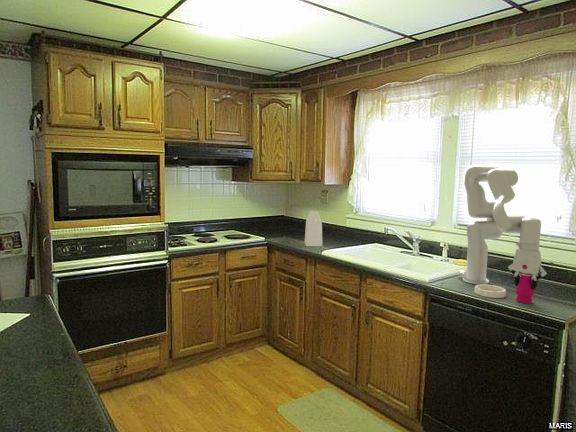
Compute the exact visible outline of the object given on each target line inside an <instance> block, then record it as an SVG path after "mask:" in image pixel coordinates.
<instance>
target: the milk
mask: <svg viewBox="0 0 576 432" xmlns="http://www.w3.org/2000/svg"><path fill="white" fill-rule="evenodd" d="M304 231H305V232H304V243H305V245H306V246H322V247H323V222H322V219H321V215H320V213H319V211H318V210H316V211H315V210H309V212H308V215H307V217H306V220H305V230H304ZM305 245H304V246H305Z"/></svg>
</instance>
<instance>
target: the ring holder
mask: <svg viewBox="0 0 576 432" xmlns="http://www.w3.org/2000/svg"><path fill="white" fill-rule="evenodd" d="M473 291H474V294H476V295H478V296H480V297H485V298H492V299H502V298H503V299H504V298H505V297H506V296H507V295H506V294H507V289H506V288H505V287H502V286H499V285H494V284H475V285H474V289H473Z"/></svg>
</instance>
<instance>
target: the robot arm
mask: <svg viewBox="0 0 576 432" xmlns="http://www.w3.org/2000/svg"><path fill="white" fill-rule="evenodd" d="M518 181H519V175H518V173H517V172H516V171H515V170H514V169H513V168H511V167H510V168H509V167H505V166H502V165H497V164H496V165H495V164H475V165H470V166H468V167H467V168H466V169H465V170H464V173H463V184H464V187H465V191H466V199H467V200H466V201H467V203H466V204H467V211H468V212H467V213H468V215H469V216H470V217H471V218H472V219H486V220H473V221H471V222H469V223H468V224H467V226H466V236H467V251H466V252H467V254H466V266H465V267H466V269H465V271H464V270H461V269H460V270H459V271H458V274H459V275H461V276H463V277H462V281H463V282H465V283H468V284H475V285H479V284H487V285H489V284H490V279H488V278H487V269H488V267H487V266H488V256H489V255H488V253H489V248H488V245H487V243H486V241H485V240H497V239H499V238H500V237H502V236H503V235H502V234H503V233H505V234H506V233H507V234H508V233H510V234H511V233H518V234H519V241H518V242H515V246H518V248H516V249H515V252H514V257H513V262H512V263H511V264H509V265H508V266H507V269H509V271H510V272H511V273H512V275H513V277H514V282H513V283H514V285H515V287H517V285H518V284H519V282H520V279H521V274H520V272H523V273H528V274H532V278H533V279H531V281H532V287H531V289H534V290H535V289H536V288H537V287H538V281H539V280H540V279H541V278H543V277H545V276H546V275H548V273H547V271H546V270H545V269H544V268H543V267H542V254H541V250H540V240H541V230H542V221H541V220H540V219H538V218H532V217H529V216H525V215H507V213H506V210H505V204H508V203H510V202H511V201H513V199H514V198H515V196H516V193H515V191H514V190H513V187H514V186H515V185H517V183H518ZM480 182H481V183H483V182H484V183H485V182H486V183H487V184H488V186H489V189H490V191H491V193H492V195H493V198H494V199H486V192H485V189H484V187H483V185H482V184H481V183H480ZM523 265H527V269H523V268H522V266H523ZM538 274H539V275H538Z"/></svg>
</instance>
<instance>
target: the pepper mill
mask: <svg viewBox="0 0 576 432" xmlns="http://www.w3.org/2000/svg"><path fill="white" fill-rule="evenodd" d="M522 268H523V269H527V265H523V266H522ZM519 275H520V282H519V284H518V285H517V286H515V287H516V288H515V294H516V296H515V298H516V299H515V301H517V302H518V303H521V304H528V305H529V304H532V303H533V300H534V299H533V298H532V297H533V296H535V289H531V287H532V278H533V276H532V274H528V273H523V272H520V274H519Z"/></svg>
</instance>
